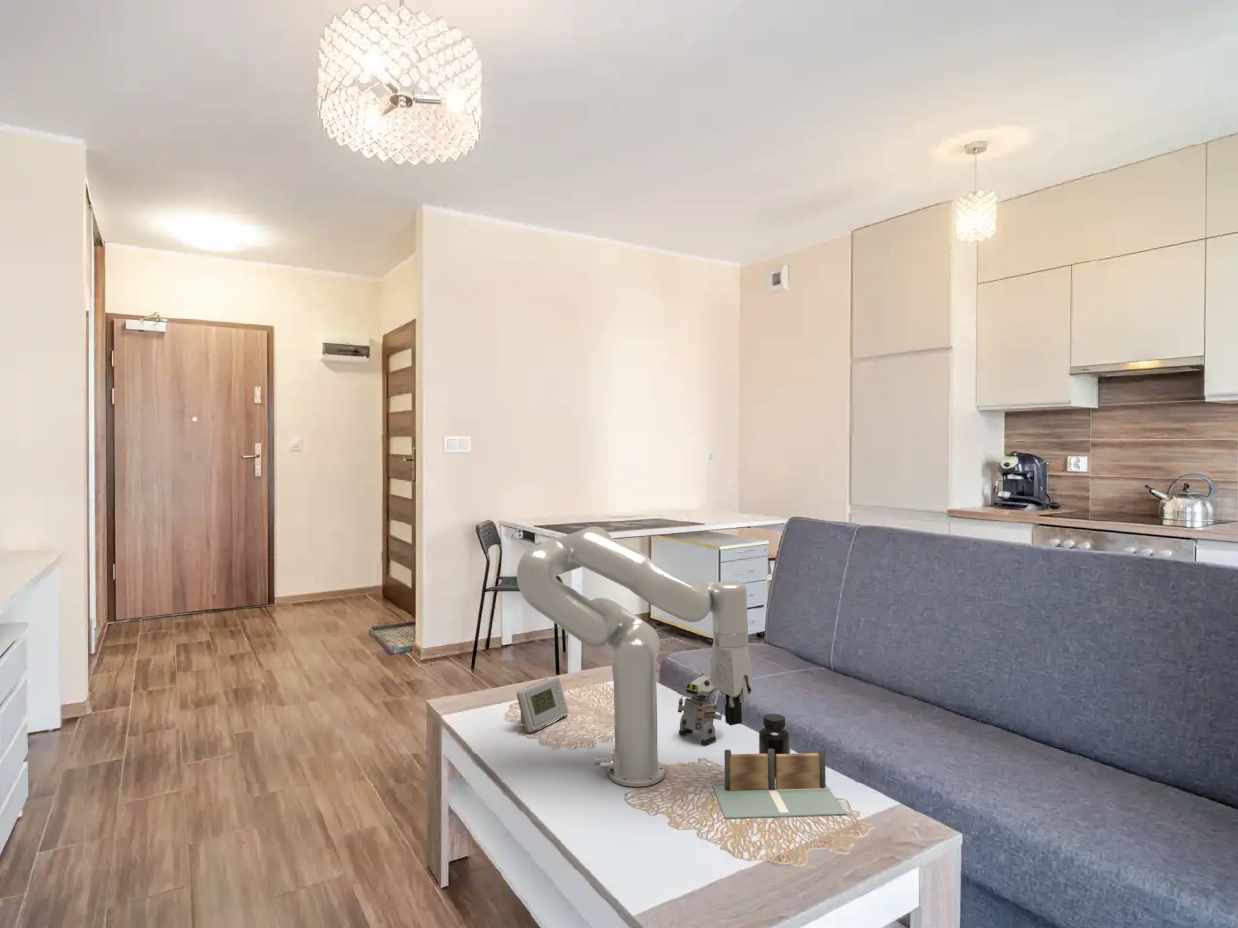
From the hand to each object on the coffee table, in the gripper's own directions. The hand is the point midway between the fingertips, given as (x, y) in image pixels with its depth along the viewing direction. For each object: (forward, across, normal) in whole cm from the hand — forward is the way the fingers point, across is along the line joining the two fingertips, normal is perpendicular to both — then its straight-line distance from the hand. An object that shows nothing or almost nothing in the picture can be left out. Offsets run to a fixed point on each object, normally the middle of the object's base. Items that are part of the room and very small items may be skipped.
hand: (733, 722), depth 150 cm
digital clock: (+12, -50, -28) cm, 58 cm away
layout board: (+13, +11, +3) cm, 17 cm away
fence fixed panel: (+13, +9, +10) cm, 19 cm away
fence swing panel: (+12, +5, 0) cm, 13 cm away
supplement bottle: (+13, 0, +10) cm, 17 cm away
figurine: (+13, -24, +6) cm, 27 cm away
